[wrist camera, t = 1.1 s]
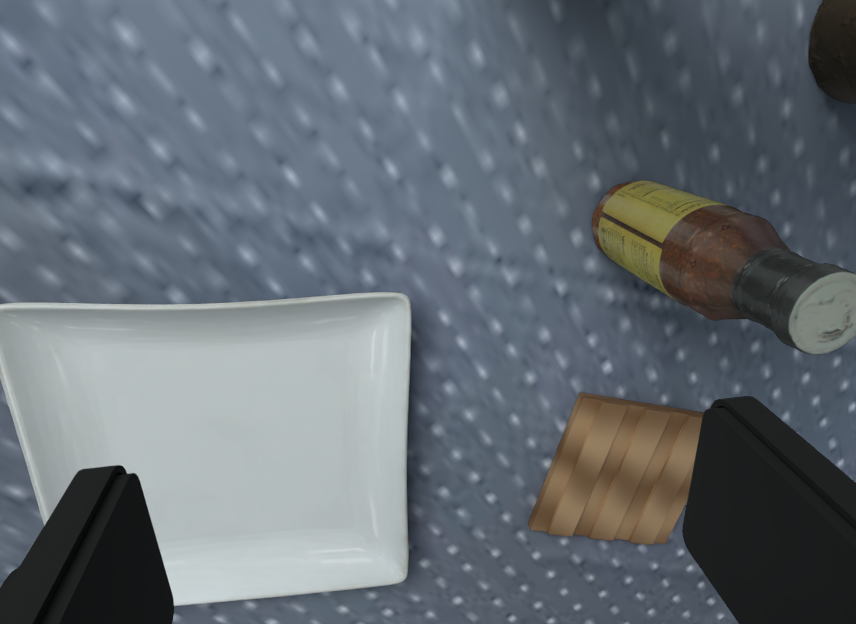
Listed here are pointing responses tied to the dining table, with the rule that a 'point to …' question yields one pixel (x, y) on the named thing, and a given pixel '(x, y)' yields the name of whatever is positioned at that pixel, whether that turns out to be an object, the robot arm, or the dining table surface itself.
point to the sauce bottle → (725, 264)
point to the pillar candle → (835, 49)
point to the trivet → (619, 471)
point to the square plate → (229, 431)
